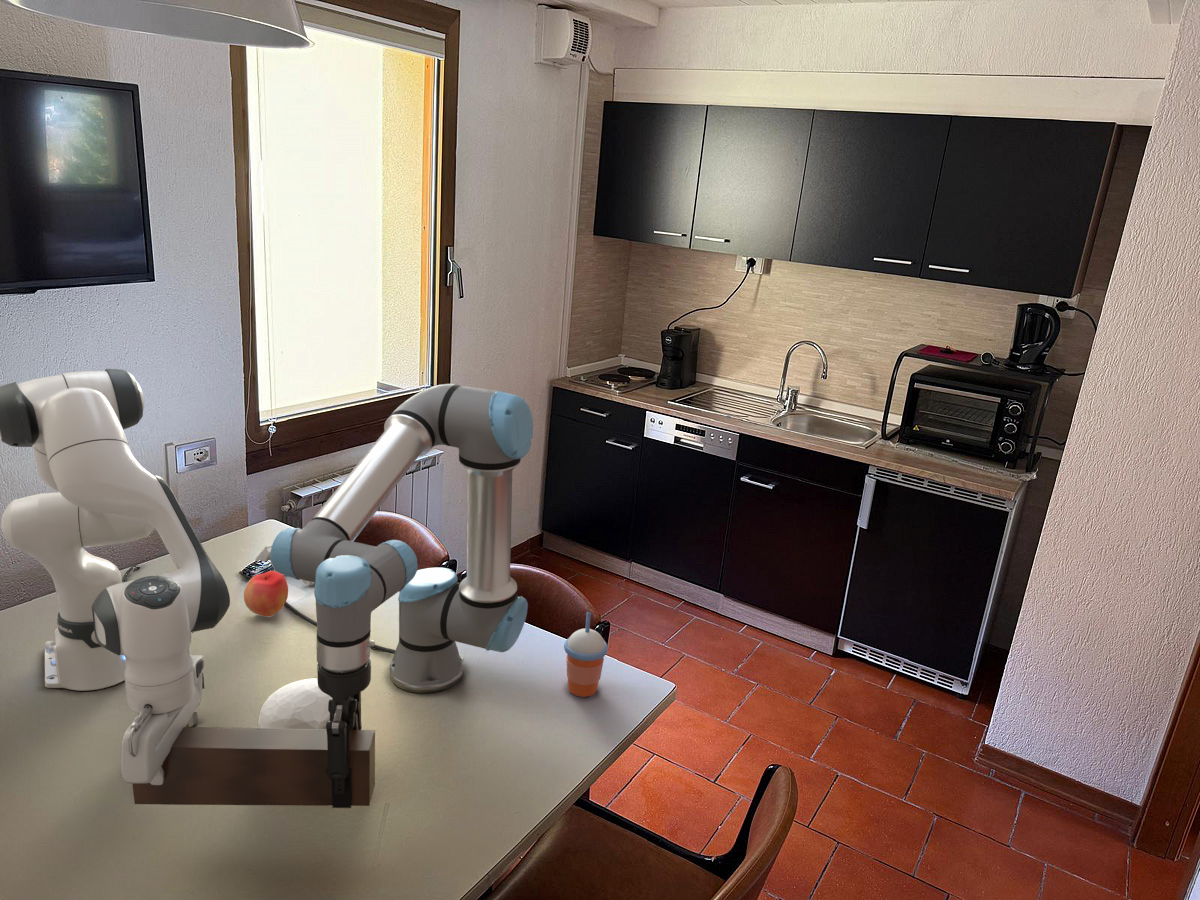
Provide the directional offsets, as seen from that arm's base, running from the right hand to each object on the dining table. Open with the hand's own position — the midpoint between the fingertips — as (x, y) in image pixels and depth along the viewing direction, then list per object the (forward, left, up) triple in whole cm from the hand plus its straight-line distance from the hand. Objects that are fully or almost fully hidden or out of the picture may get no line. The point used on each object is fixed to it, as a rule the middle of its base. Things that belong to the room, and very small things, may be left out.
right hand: (345, 792), depth 131 cm
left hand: (-22, -14, +4) cm, 26 cm away
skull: (-17, +12, -10) cm, 24 cm away
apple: (-66, +45, -10) cm, 81 cm away
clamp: (-78, +62, -10) cm, 100 cm away
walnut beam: (-11, -7, 0) cm, 13 cm away
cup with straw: (+10, +59, -10) cm, 61 cm away
